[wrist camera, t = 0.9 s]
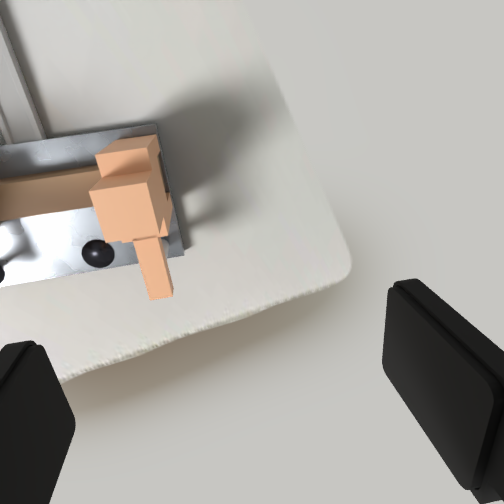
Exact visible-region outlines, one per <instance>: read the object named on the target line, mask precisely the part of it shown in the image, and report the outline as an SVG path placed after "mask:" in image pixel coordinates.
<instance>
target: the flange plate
mask: <svg viewBox="0 0 504 504" xmlns="http://www.w3.org/2000/svg"><path fill="white" fill-rule="evenodd" d="M154 134H156V135H157V139H158V144H159V148H160V152H159V154H158V156H159V161H160V165H161V169H162V174H163V178H164V182H165V187H166V188H165V193H169V192H170V196H171V201H172V205H173V209H172V215H171V221H170V227H169V233H168V236H163V237H161V240H162V239H164V240H166V241H168V243H169V249H168V256H167V258H172V257H178V256H184V246H183V242H182V237H181V233H180V228H179V224H178V219H177V215H176V210H175V206H174V202H173V197H172V193H171V188H170V184H169V179H168V175H167V170H166V166H165V161H164V157H163V153H162V148H161V144H160V139H159V135H158V130H157V126H156V123H155V124H148V125H140V126H133V127H126V128H119V129H111V130H104V131H97V132H90V133H82V134H75V135H68V136H61V137H53V138H46V139H44V140H39V141H30V142H23V143H15V144H11V145H7V144H3V145H0V179H2V178H9V177H16V176H23V175H29V174H36V173H43V172H50V171H57V170H64V169H71V168H77V167H84V166H91V165H98V164H97V161H96V157H95V154H97V153H98V152H100V151H101V150H102V149H104V148H105V147H107V146H108V145H109V144H111V143H112V142H113V141H115V140H119V139H126V138H133V137H140V136H147V135H154ZM137 263H139V261H138V257H137V254H136V250H135V247H134V244H133V242H127V243H122V241H115V242H109V243H106V242H105V239H104V236H103V233H102V230H101V227H100V224H99V221H98V218H97V215H96V212H95V209H94V207H89V208H82V209H76V210H69V211H63V212H57V213H50V214H44V215H37V216H31V217H24V218H18V219H12V220H5V221H0V287H2V286H8V285H14V284H20V283H26V282H32V281H38V280H43V279H49V278H55V277H61V276H67V275H73V274H79V273H84V272H90V271H96V270H102V269H108V268H114V267H120V266H125V265H131V264H137Z"/></svg>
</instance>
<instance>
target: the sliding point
mask: <svg viewBox="0 0 504 504" xmlns="http://www.w3.org/2000/svg"><path fill="white" fill-rule="evenodd" d="M159 152H160V148H159V144H158V139H157V135H156V134H154V135H147V136H140V137H133V138H126V139H119V140H115V141H113V142H112V143H111V144H109V145H108V146H107V147H105V148H104V149H102V150H101V151H100V152H98V153H97V154H95V157H96V161H97V164H98V167H99V170H100V174H101V177H102V178H101V179H100V180H99V181H98V182H97V183H96V184H95V185H94V186H93V187H92V188H91V189H90V190H89V194H90V197H91V200H92V203H93V206H94V209H95V212H96V215H97V218H98V221H99V224H100V227H101V230H102V233H103V236H104V239H105V242H106V243H109V242H115V241H122V243H127V242H133V244H134V247H135V250H136V254H137V257H138V261H139V264H140V267H141V271H142V274H143V278H144V281H145V285H146V288H147V291H148V295H149V298H150V300H155V299H161V298H166V297H172V296H173V284H172V280H171V276H170V272H169V268H168V264H167V256H168V249H169V243H168V241H166V240H164V239H162V240H161V237H163V236H168V233H169V227H170V221H171V215H172V209H173V205H172V201H171V196H170V192H169V193H165V189H164V185H163V180H162V176H161V172H160V167H159V163H158V159H157V156H158V154H159Z"/></svg>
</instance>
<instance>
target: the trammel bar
mask: <svg viewBox="0 0 504 504" xmlns="http://www.w3.org/2000/svg"><path fill="white" fill-rule="evenodd" d="M157 159H158V163H159V167H160V172H161V176H162V180H163V185H164V189H165V188H166V187H165V182H164V178H163V174H162V169H161V165H160V161H159V156H157ZM101 178H102V177H101V174H100V170H99V167H98V165H91V166H84V167H77V168H71V169H64V170H57V171H50V172H43V173H36V174H29V175H23V176H16V177H9V178H2V179H0V221H5V220H12V219H18V218H24V217H31V216H37V215H44V214H50V213H57V212H63V211H69V210H76V209H82V208H89V207H94V206H93V203H92V200H91V197H90V194H89V190H90V189H91V188H92V187H93V186H94V185H95V184H96V183H97V182H98V181H99V180H100V179H101Z"/></svg>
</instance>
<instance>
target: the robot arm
mask: <svg viewBox="0 0 504 504" xmlns="http://www.w3.org/2000/svg"><path fill="white" fill-rule="evenodd" d="M382 364H383V369H384V371H385V373H386V375H387V377H388V378H389V380H390V381H391V383H392V384H393V386H394V387H395V389H396V390H397V392H398V393H399V394H400V396H401V398H402V399H403V401H404V402H405V404H406V405H407V407H408V408H409V410H410V411H411V412H412V414H413V415H414V417H415V419H416V420H417V422H418V423H419V424H420V426H421V427H422V429H423V430H424V432H425V433H426V435H427V436H428V438H429V439H430V441H431V442H432V444H433V445H434V447H435V448H436V450H437V451H438V453H439V454H440V456H441V457H442V459H443V460H444V462H445V463H446V465H447V466H448V468H449V469H450V471H451V472H452V474H453V475H454V477H455V478H456V480H457V481H458V483H459V484H460V485H461V486H462V487H463V488H464V489H465V490H471V492H472V493H473V495H474V496H475V498H476V499H477V501H478V502H479V503H480V504H486V503H490V502H494V501H499V500H503V501H504V351H503V350H501V349H500V348H499V347H498V346H497V345H495V344H494V343H493V342H492V341H491V340H490V339H488V338H487V337H486V336H485V335H484V334H482V333H481V332H480V331H479V330H478V329H477V328H475V327H474V326H473V325H472V324H471V323H469V322H468V321H467V320H466V319H465V318H464V317H462V316H461V315H460V314H459V313H458V312H457V311H455V310H454V309H453V308H452V307H451V306H449V305H448V304H447V303H446V302H445V301H444V300H442V299H441V298H440V297H439V296H438V295H437V294H435V293H434V292H433V291H432V290H431V289H429V288H428V287H427V286H426V285H425V284H424V283H422V282H421V281H420V280H418V279H408V280H402V281H397V282H395V283H394V285H393V287H391V288H389V290H388V295H387V307H386V320H385V332H384V344H383V356H382ZM74 432H75V417H74V415H73V412H72V410H71V408H70V406H69V403H68V401H67V399H66V397H65V395H64V392H63V390H62V387H61V385H60V383H59V381H58V378H57V376H56V374H55V372H54V369H53V367H52V365H51V362H50V360H49V358H48V356H47V353H46V351H45V349H44V347H43V346H42V345H37V344H36V343H35V342H34V341H31V340H30V341H24V342H18V343H11V344H7V345H5V346H4V347H3V348H2V349H1V351H0V504H49V502H50V500H51V497H52V494H53V491H54V488H55V485H56V483H57V479H58V477H59V474H60V471H61V469H62V466H63V463H64V460H65V457H66V455H67V452H68V449H69V446H70V443H71V440H72V437H73V435H74Z"/></svg>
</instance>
